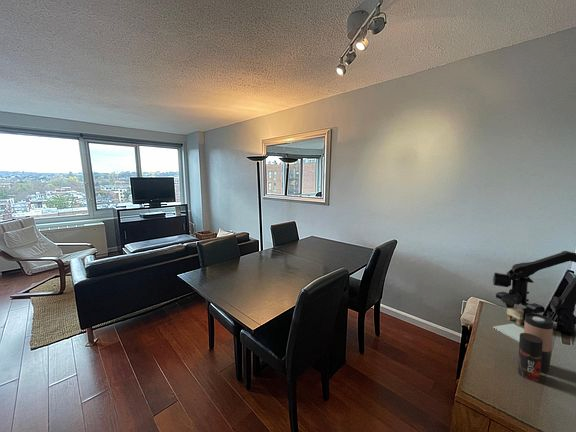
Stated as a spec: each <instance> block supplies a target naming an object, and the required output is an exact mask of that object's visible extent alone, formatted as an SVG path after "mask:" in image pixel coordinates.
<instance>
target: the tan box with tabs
mask: <svg viewBox="0 0 576 432" xmlns="http://www.w3.org/2000/svg"><path fill="white" fill-rule="evenodd" d="M522 309H523V308H520V307H515V306H514V307H513V308H507V307H506V320H508V321H512V320H513V319H514V318H515V319H514V320H515V322H516V323H515V325H517V326H521V325H522V323H523V324H525V321H524V320H523V315H524V311H523V310H522Z"/></svg>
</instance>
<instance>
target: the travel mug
mask: <svg viewBox="0 0 576 432" xmlns="http://www.w3.org/2000/svg"><path fill="white" fill-rule="evenodd" d="M523 325H524V328H523V329H524V333H529V334H532V335H535V336H537V337H539V338H541V339H542V340H543V345H542V359H541V372H540V373H548V372H549V370H550V366H551V365H550V364H551V356H552V350H553V348H552V347H553V334H554V329H553V327H554V320H553V319H552V318H550V317H548V316H546V315H543V314H541V313H527V314H525V323H524V324H523Z"/></svg>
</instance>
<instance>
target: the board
mask: <svg viewBox="0 0 576 432" xmlns="http://www.w3.org/2000/svg"><path fill="white" fill-rule="evenodd" d="M494 328H495V329H494ZM492 329H494V330H496V329H497V330H496V331H498V332H499V331H500V333H502V335H503V334H504V335H506V337H508V338H511V339H513V340H515V341H516V342H518V343H519V339H520V333H524V328H523V327H521V326H520V325H518V324H516V323H507V324H502V325H501V324H500V325H495V326H492Z"/></svg>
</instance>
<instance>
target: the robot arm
mask: <svg viewBox="0 0 576 432" xmlns="http://www.w3.org/2000/svg"><path fill="white" fill-rule="evenodd" d="M567 262H572V263H576V252H572V251H568V250H563V251H561V252H558V253H556V254H552V255H550V256H547V257H543V258H541V259H536V260H535V261H529V262H519V263H516V264H515V263H514V264H513V265H512V267H511V269H510V270H508V271H507V272H506V273H499V272H494V273H493V277H492V284H493V286H495V287H496V286H497V287H504V288H509V287H511V288H510V289H509V290H508V292H506V291H499V292H496V293H495V298H496V299H499V300H500V301H501V302H502V303H504V304H505V306H506V309H507V308H513V307H515V305H517V306H518V305H522V306H524V307H525V308H521V309H522V310H523V311H524V315H523V319H522V321H523V320H524V321H525V314H527V313H535V314H541V313H546V308H545V307H544V306H543V305H540V304H538V303H530V302H529V299H528V294H530V291H528V283H530V284H531V283H532V284H533V283H535V282H534V280H533V279H532V278H531V277H530V276H532V275H534V274H535V273H537V272H538V271H541V270H544V269H547V268H551V267H555V266H557V265H560V264H564V263H567ZM528 302H529V303H528ZM549 303H550V305H549V306H550V307H549V308H550V309H551V310H552V311H553V312H554V313H555V315H557V318H556V326H553V330H556V331H557V332H560V333H563V334H565V335H567V336H574V335H576V314H574V313H575V310H576V276H574V278H573V279H572V281H571V283H570V284H569V285H568V287H567V288H566V289H565V291H564V292H563V293H562V294H561V296H558V297H557V296H556V295H554V296H553V297H552V300H551V301H549Z"/></svg>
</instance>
